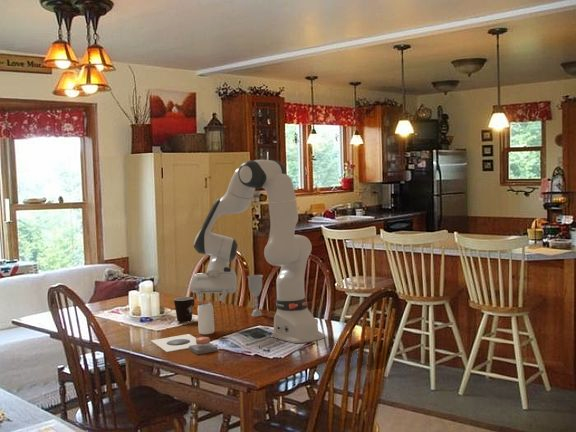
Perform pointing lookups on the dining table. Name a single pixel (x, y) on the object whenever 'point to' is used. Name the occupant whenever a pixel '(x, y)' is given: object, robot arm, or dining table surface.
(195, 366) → the dining table surface
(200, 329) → the can
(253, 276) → the chalice
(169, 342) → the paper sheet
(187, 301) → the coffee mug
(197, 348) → the button base
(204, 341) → the button
